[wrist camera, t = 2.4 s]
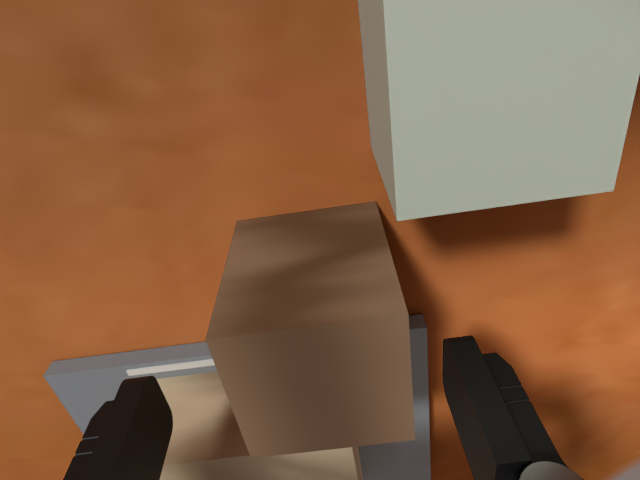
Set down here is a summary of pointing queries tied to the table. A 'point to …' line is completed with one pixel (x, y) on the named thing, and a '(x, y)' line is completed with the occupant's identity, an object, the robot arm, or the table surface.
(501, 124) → the block
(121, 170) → the table surface
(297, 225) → the block
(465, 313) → the table surface
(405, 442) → the plate
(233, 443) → the pedestal
